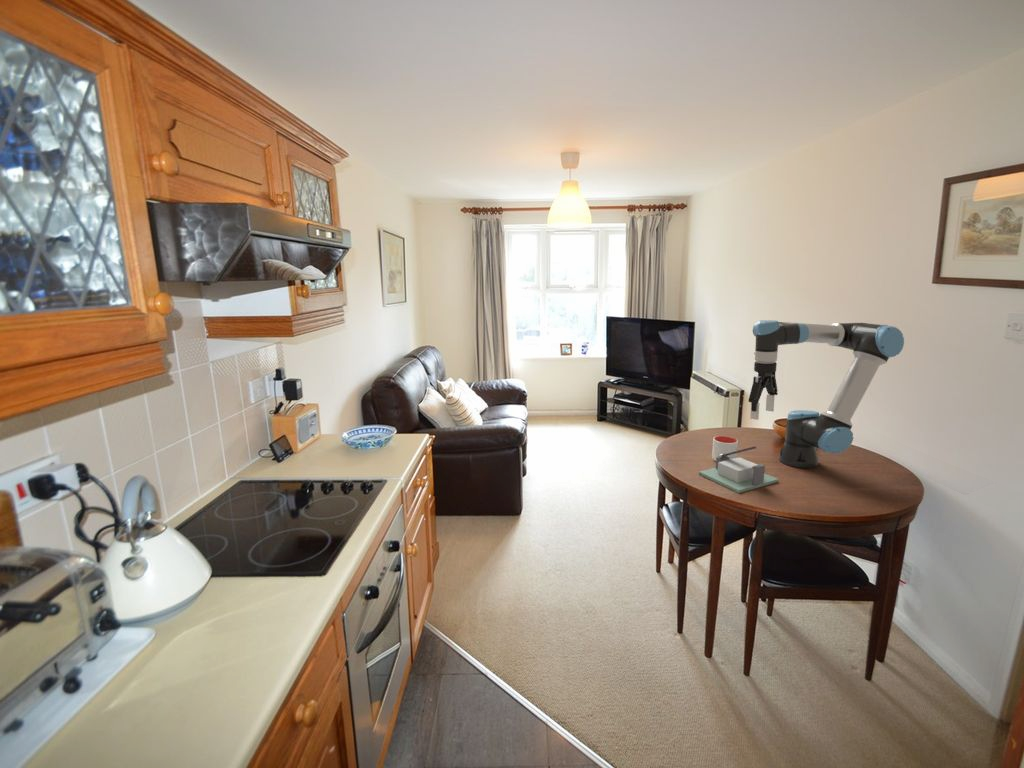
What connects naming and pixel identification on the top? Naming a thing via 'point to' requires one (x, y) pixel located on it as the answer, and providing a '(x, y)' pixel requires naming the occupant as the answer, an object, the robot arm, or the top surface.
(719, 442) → the cup
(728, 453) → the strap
